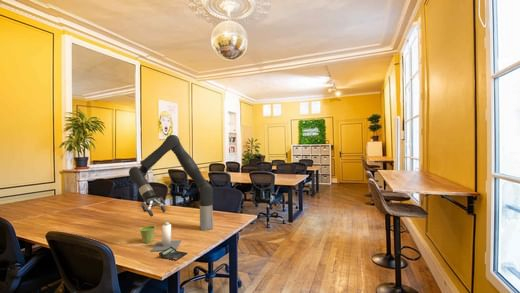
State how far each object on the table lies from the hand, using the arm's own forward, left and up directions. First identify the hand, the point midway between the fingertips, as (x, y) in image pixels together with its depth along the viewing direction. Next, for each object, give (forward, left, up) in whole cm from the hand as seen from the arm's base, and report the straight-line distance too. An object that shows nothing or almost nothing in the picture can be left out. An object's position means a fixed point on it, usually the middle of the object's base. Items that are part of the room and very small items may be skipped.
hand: (158, 213), depth 152 cm
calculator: (-13, +21, -19) cm, 31 cm away
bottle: (-6, +6, -18) cm, 20 cm away
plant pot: (+8, -3, -18) cm, 20 cm away
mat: (-6, +7, -18) cm, 20 cm away
